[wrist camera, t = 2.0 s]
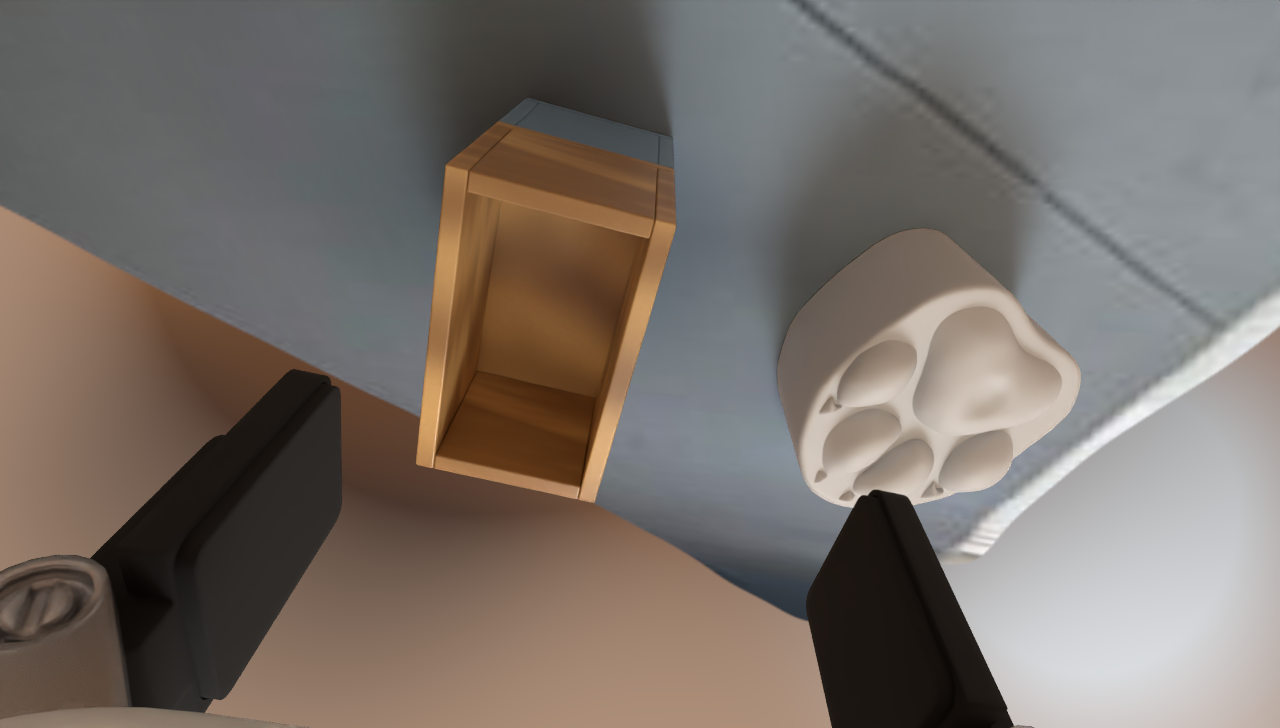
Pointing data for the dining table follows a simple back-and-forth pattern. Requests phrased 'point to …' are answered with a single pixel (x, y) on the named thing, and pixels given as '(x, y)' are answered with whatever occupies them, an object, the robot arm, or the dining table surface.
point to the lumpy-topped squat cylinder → (917, 375)
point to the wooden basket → (539, 307)
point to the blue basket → (592, 131)
